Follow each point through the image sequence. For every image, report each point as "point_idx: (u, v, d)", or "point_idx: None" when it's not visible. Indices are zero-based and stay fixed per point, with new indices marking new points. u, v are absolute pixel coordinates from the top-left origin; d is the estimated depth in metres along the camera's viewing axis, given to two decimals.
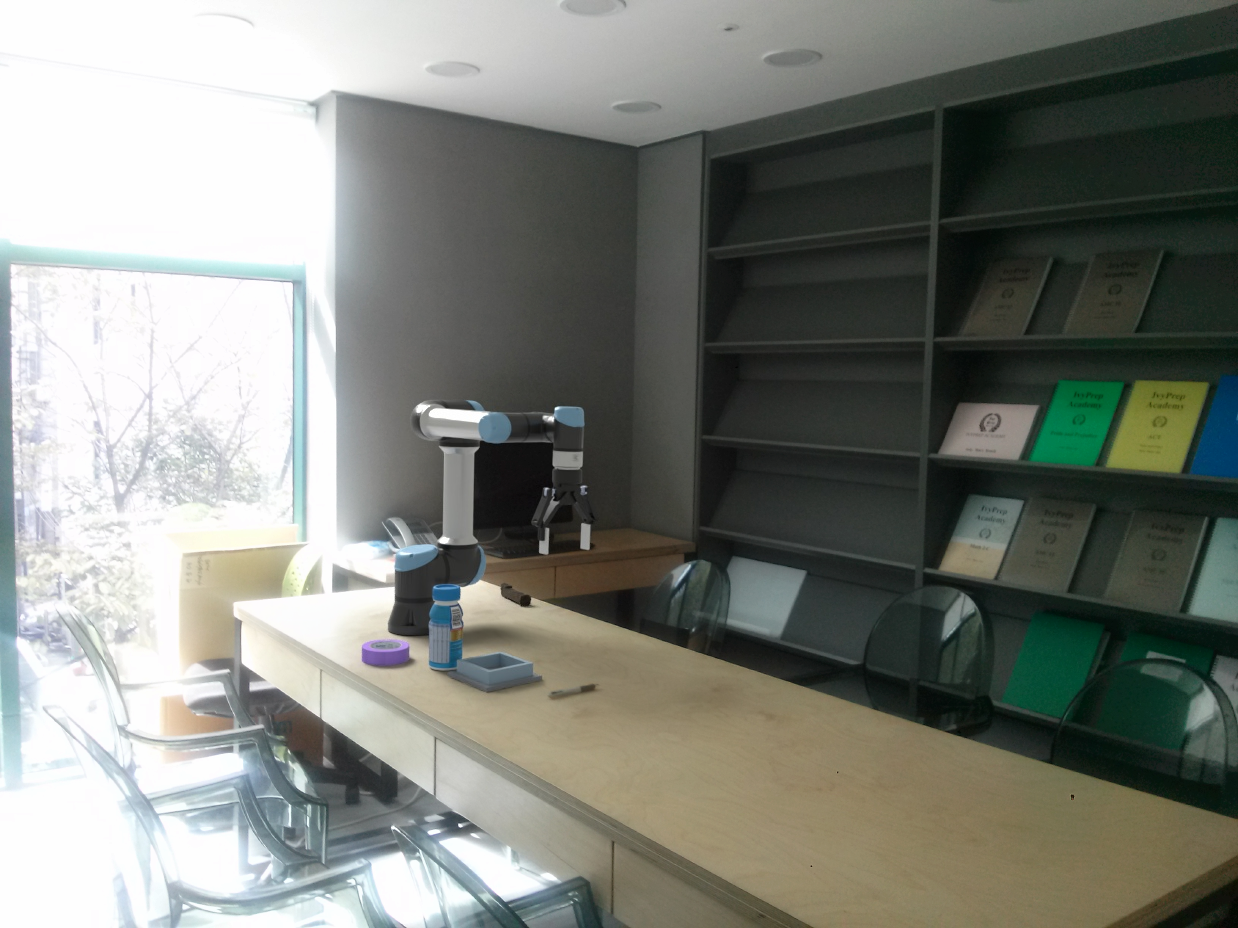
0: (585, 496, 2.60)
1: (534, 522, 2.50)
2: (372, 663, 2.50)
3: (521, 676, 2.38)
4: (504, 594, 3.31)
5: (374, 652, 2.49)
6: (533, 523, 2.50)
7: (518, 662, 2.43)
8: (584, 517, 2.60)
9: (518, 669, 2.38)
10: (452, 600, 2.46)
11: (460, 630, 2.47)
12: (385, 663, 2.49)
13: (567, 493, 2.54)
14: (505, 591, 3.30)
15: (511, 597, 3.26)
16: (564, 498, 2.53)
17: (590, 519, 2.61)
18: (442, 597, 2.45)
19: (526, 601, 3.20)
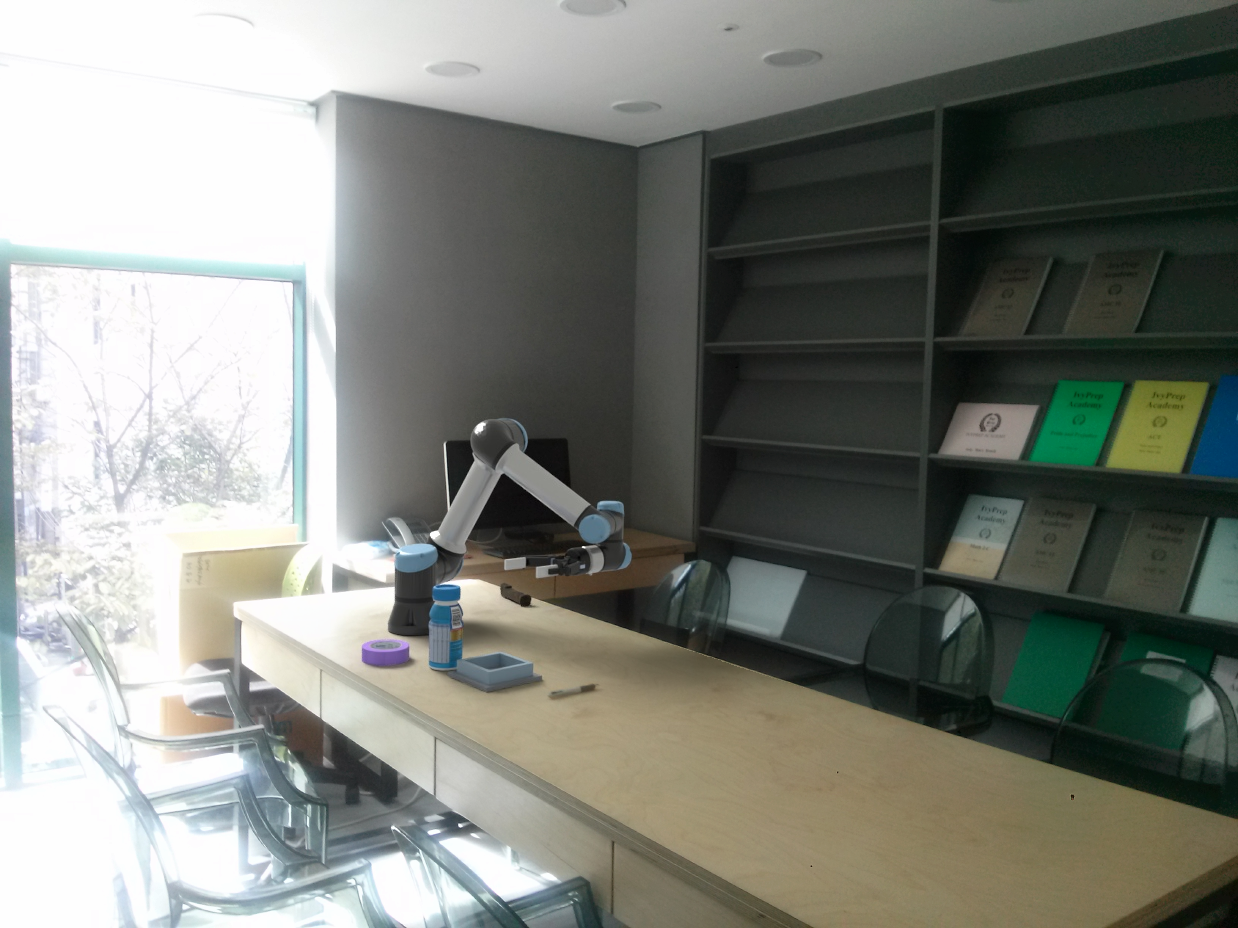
0: None
1: (569, 571, 2.61)
2: (372, 663, 2.50)
3: (521, 676, 2.38)
4: (504, 594, 3.31)
5: (374, 652, 2.49)
6: (568, 570, 2.61)
7: (518, 662, 2.43)
8: (532, 563, 2.73)
9: (518, 669, 2.38)
10: (452, 600, 2.46)
11: (460, 630, 2.47)
12: (385, 663, 2.49)
13: None
14: (505, 591, 3.30)
15: (511, 597, 3.26)
16: None
17: None
18: (442, 597, 2.45)
19: (526, 601, 3.20)
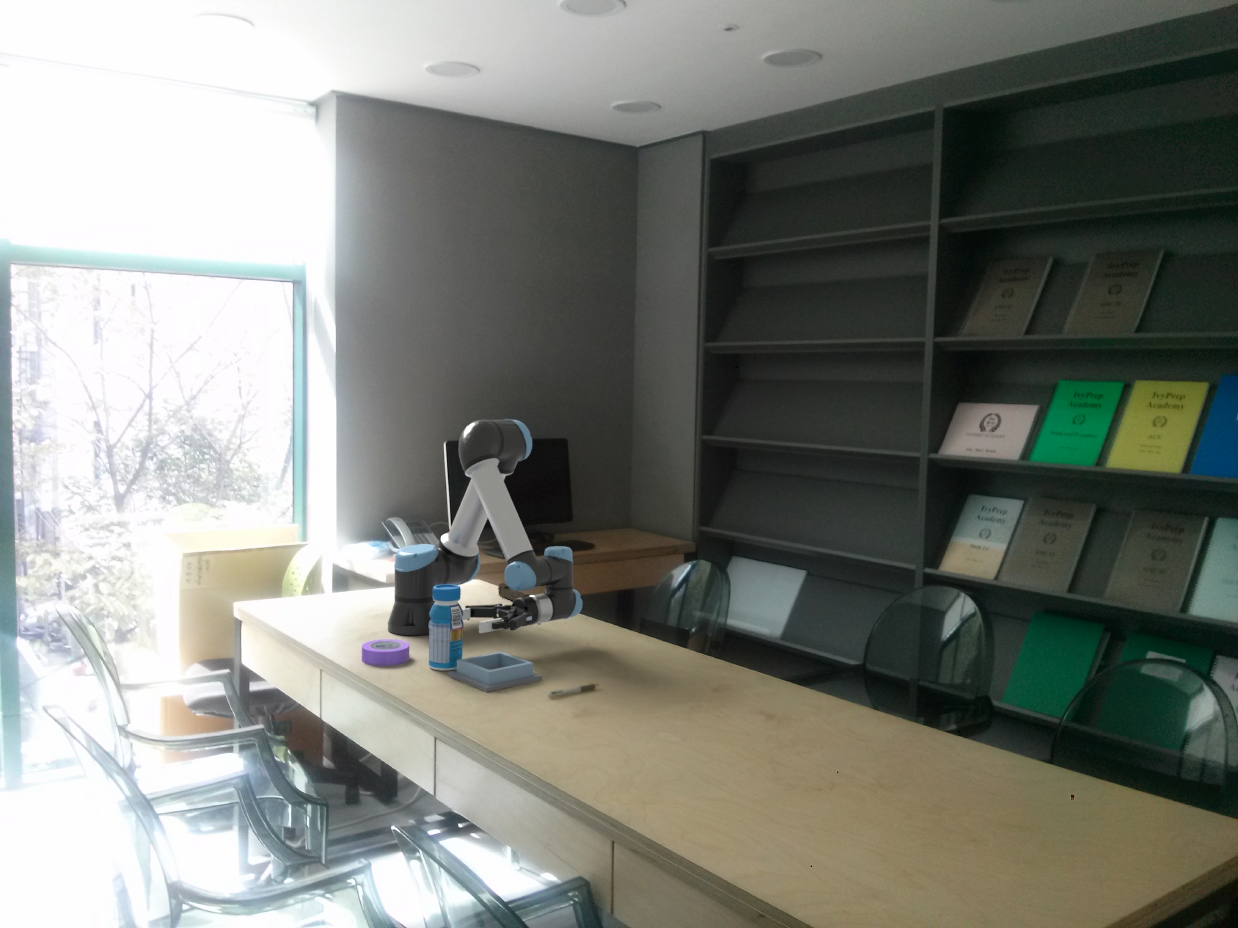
0: None
1: (514, 625, 2.49)
2: (372, 663, 2.50)
3: (521, 676, 2.38)
4: (503, 594, 3.31)
5: (374, 652, 2.49)
6: (513, 624, 2.49)
7: (518, 662, 2.43)
8: (476, 614, 2.61)
9: (518, 669, 2.38)
10: (452, 600, 2.46)
11: (460, 630, 2.47)
12: (385, 663, 2.49)
13: None
14: (504, 591, 3.30)
15: (511, 597, 3.26)
16: None
17: None
18: (442, 597, 2.45)
19: None
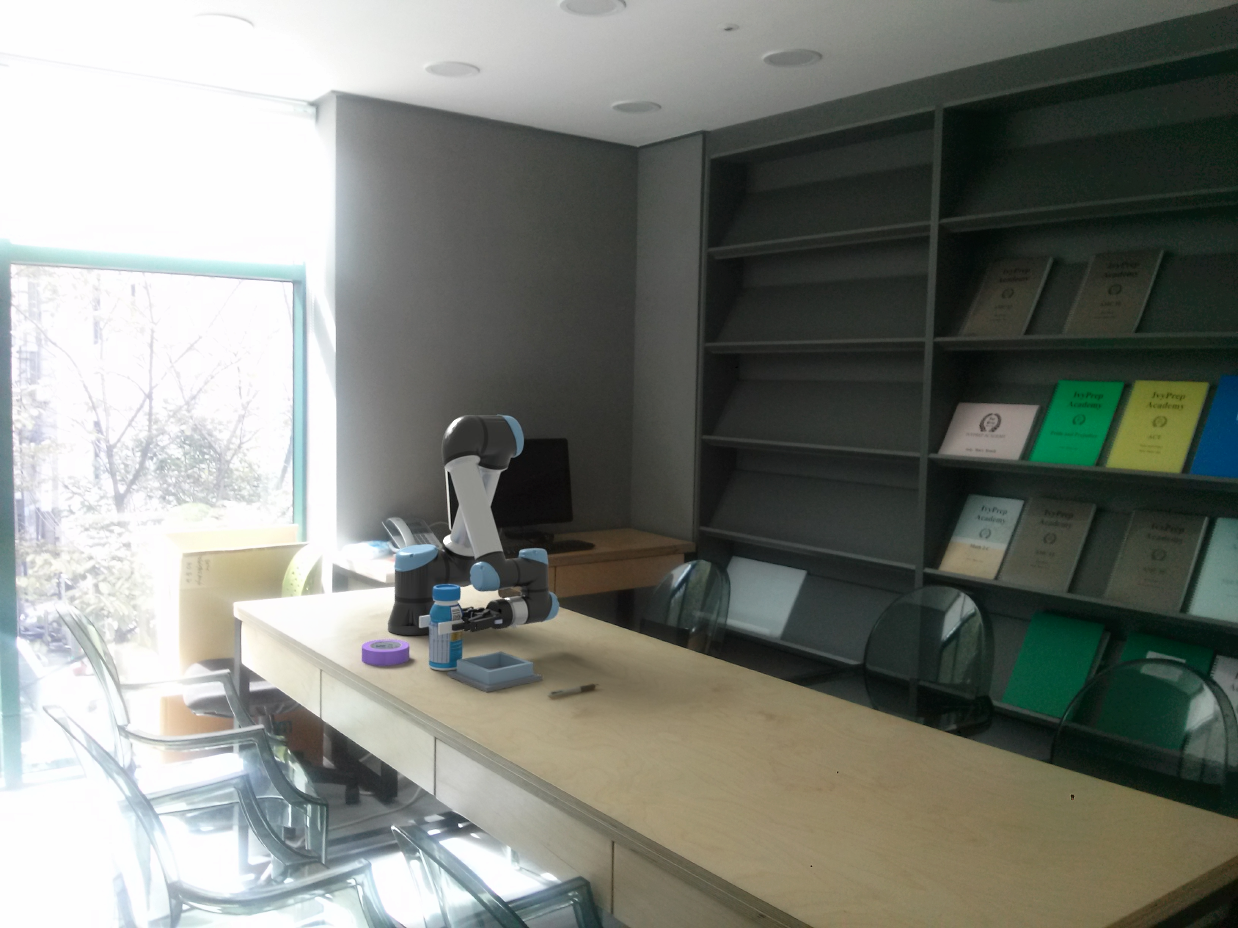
0: None
1: (474, 626, 2.45)
2: (372, 663, 2.50)
3: (521, 676, 2.38)
4: (502, 594, 3.30)
5: (374, 652, 2.49)
6: (473, 625, 2.45)
7: (518, 662, 2.43)
8: None
9: (518, 669, 2.38)
10: (452, 600, 2.46)
11: None
12: (385, 663, 2.49)
13: None
14: (504, 591, 3.30)
15: None
16: None
17: None
18: (442, 597, 2.45)
19: None
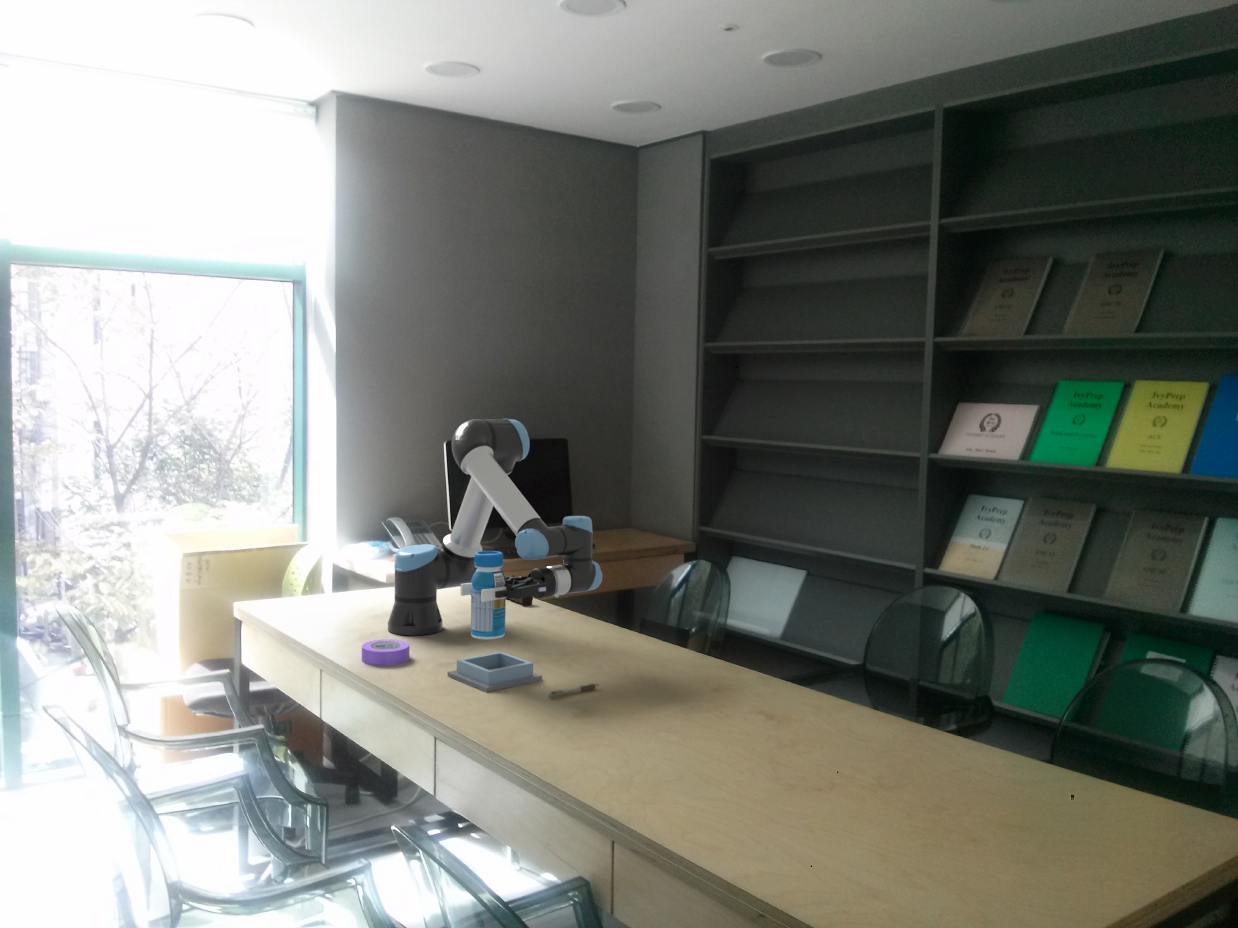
0: None
1: (518, 593, 2.37)
2: (372, 663, 2.50)
3: (521, 676, 2.38)
4: None
5: (374, 652, 2.49)
6: (517, 592, 2.37)
7: (518, 662, 2.43)
8: None
9: (518, 669, 2.38)
10: (495, 566, 2.37)
11: None
12: (385, 663, 2.49)
13: None
14: None
15: None
16: None
17: None
18: (485, 563, 2.37)
19: (528, 600, 3.20)
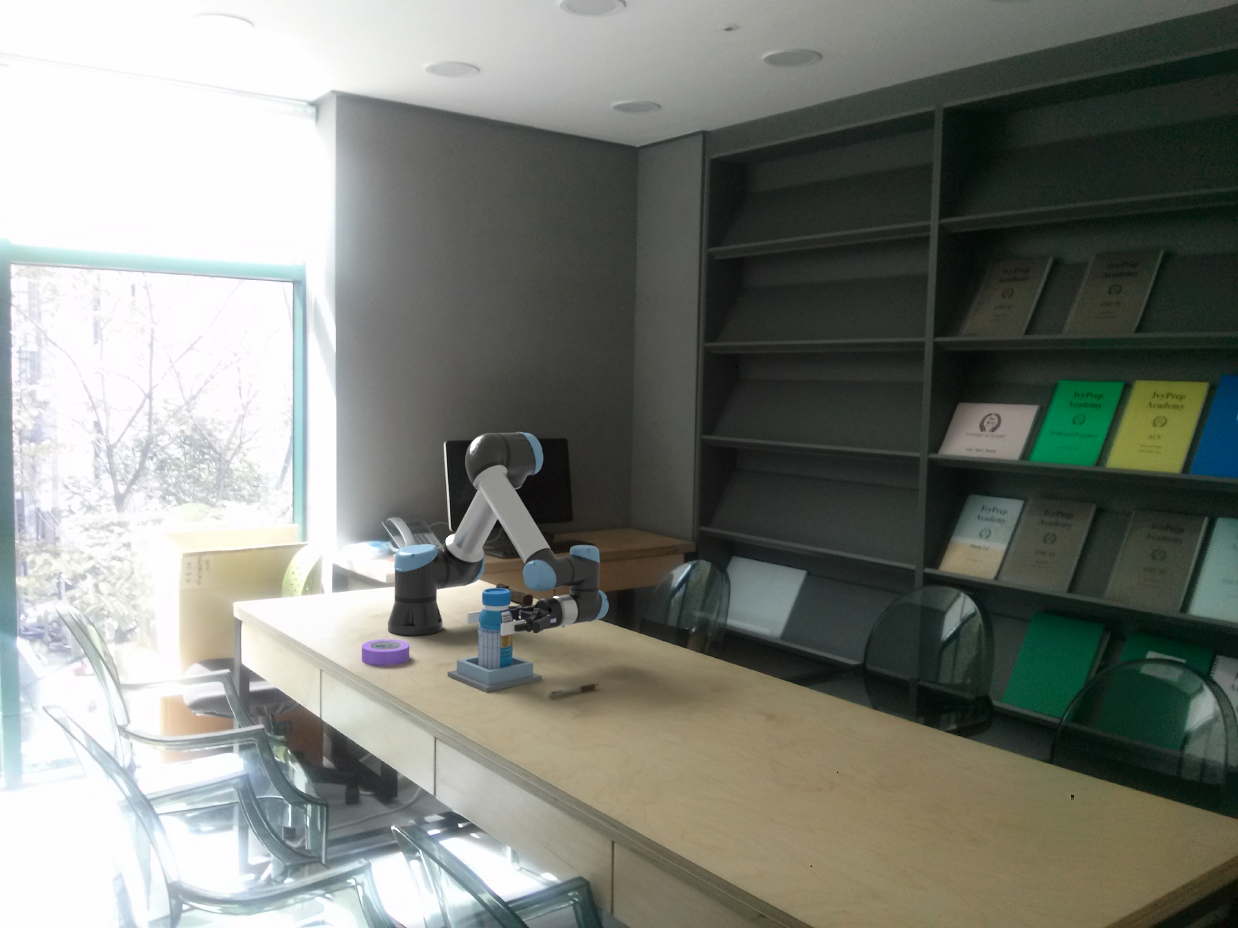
0: None
1: (537, 627, 2.36)
2: (372, 663, 2.50)
3: (521, 676, 2.38)
4: None
5: (374, 652, 2.49)
6: (536, 626, 2.36)
7: (518, 662, 2.43)
8: None
9: (518, 669, 2.38)
10: (503, 605, 2.37)
11: (510, 636, 2.39)
12: (385, 663, 2.49)
13: None
14: None
15: (511, 597, 3.25)
16: None
17: None
18: (493, 602, 2.36)
19: (529, 600, 3.20)
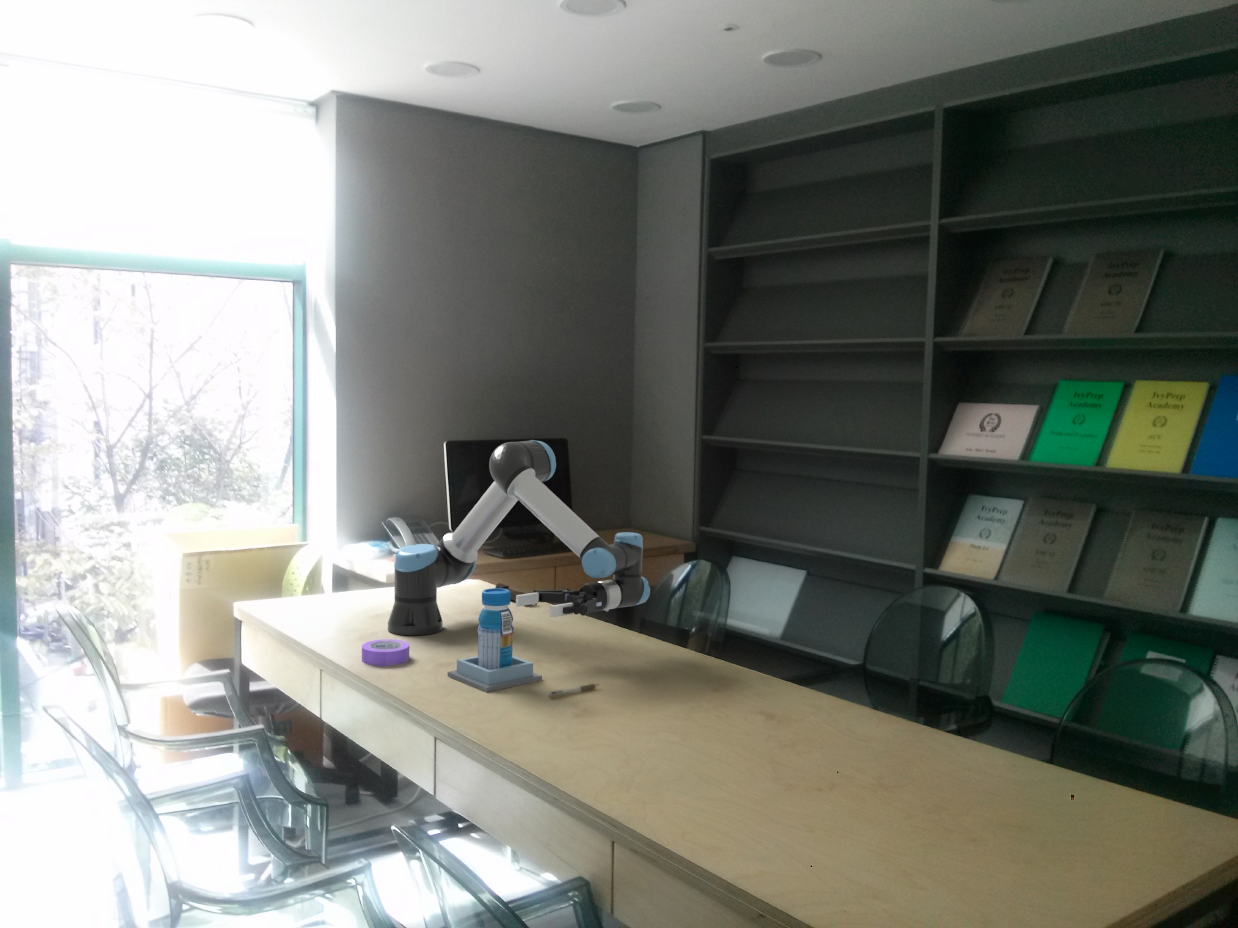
0: None
1: (585, 610, 2.45)
2: (372, 663, 2.50)
3: (521, 676, 2.38)
4: None
5: (374, 652, 2.49)
6: (584, 609, 2.45)
7: (518, 662, 2.43)
8: (545, 598, 2.57)
9: (518, 669, 2.38)
10: (502, 605, 2.37)
11: (510, 636, 2.39)
12: (385, 663, 2.49)
13: None
14: None
15: (511, 597, 3.25)
16: None
17: None
18: (492, 602, 2.37)
19: None
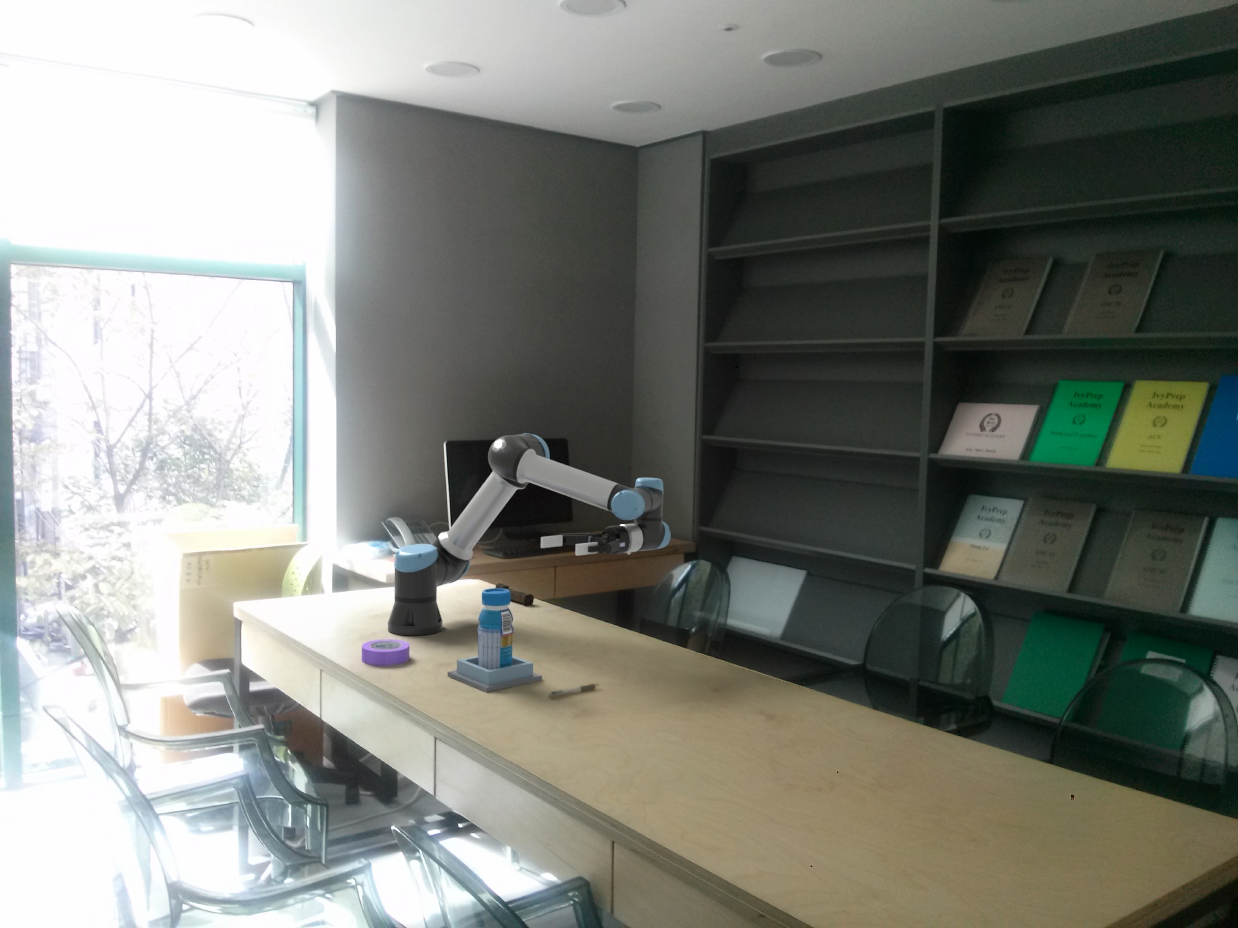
0: None
1: (609, 548, 2.50)
2: (372, 663, 2.50)
3: (521, 676, 2.38)
4: None
5: (374, 652, 2.49)
6: (609, 547, 2.50)
7: (518, 662, 2.43)
8: (568, 541, 2.62)
9: (518, 669, 2.38)
10: (502, 605, 2.37)
11: (510, 636, 2.39)
12: (385, 663, 2.49)
13: None
14: None
15: (511, 597, 3.25)
16: None
17: None
18: (492, 602, 2.37)
19: (529, 600, 3.21)
